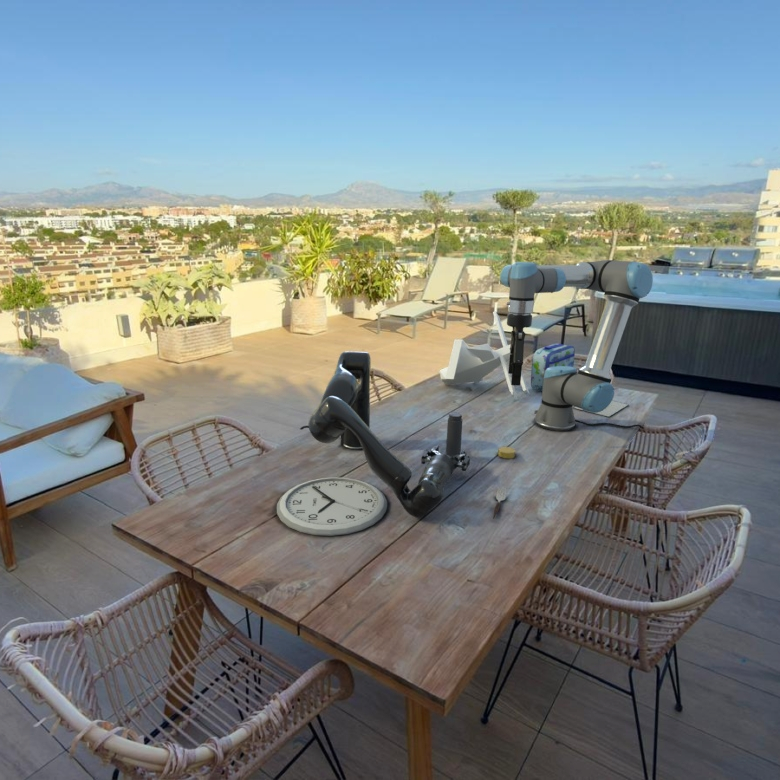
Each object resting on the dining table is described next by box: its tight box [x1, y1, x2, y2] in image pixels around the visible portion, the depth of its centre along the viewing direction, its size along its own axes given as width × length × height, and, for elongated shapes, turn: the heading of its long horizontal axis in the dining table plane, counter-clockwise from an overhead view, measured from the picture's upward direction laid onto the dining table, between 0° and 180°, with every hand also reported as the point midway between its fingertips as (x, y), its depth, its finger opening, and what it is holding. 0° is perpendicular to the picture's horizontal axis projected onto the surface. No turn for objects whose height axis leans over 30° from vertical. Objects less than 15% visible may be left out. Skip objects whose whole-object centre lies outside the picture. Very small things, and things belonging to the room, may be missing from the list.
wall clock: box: [276, 476, 388, 537], centre depth 142 cm, size 30×2×30 cm
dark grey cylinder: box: [445, 411, 463, 459], centre depth 170 cm, size 5×5×16 cm
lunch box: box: [530, 343, 576, 391], centre depth 249 cm, size 26×11×21 cm, turn 134°
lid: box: [497, 446, 516, 459], centre depth 176 cm, size 5×5×2 cm
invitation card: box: [573, 400, 629, 418], centre depth 226 cm, size 21×1×15 cm
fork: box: [492, 486, 508, 519], centre depth 143 cm, size 3×16×2 cm, turn 160°
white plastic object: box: [438, 310, 531, 400], centre depth 245 cm, size 37×45×31 cm
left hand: (450, 450), depth 165 cm, fingers open, 8 cm apart
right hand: (514, 379), depth 169 cm, fingers open, 13 cm apart
